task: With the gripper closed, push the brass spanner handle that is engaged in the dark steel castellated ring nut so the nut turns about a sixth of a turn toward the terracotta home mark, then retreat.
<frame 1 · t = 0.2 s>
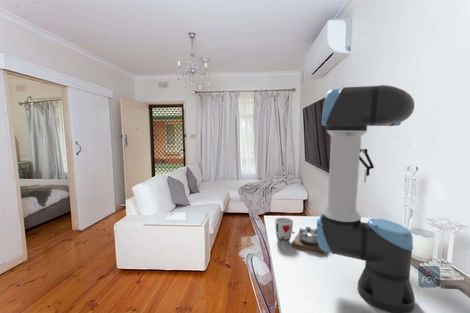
hand: (349, 180, 122), 27 cm above the table, fingers open, 13 cm apart
home mark: (290, 231, 124), on the table
cup: (283, 241, 113), on the table
base board: (310, 244, 110), on the table
ring nut: (317, 233, 112), point 4 cm above the table, hinge at 0.0°
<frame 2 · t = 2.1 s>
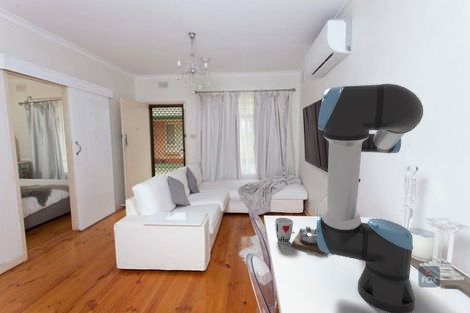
hand: (343, 212, 113), 14 cm above the table, fingers closed
nothing on the table moved.
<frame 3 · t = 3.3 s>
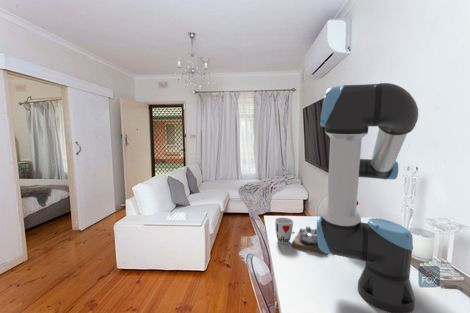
hand: (341, 234, 114), 3 cm above the table, fingers closed
nothing on the table moved.
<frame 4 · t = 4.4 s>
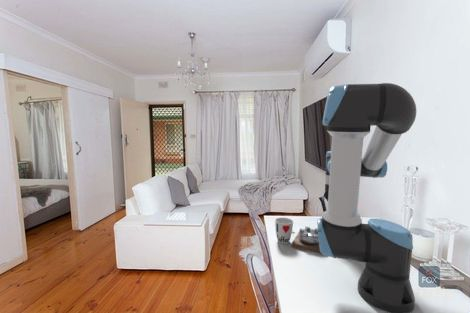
hand: (332, 231, 116), 4 cm above the table, fingers closed
ring nut: (317, 233, 112), point 4 cm above the table, hinge at 3.0°, touching gripper
everything else where it was.
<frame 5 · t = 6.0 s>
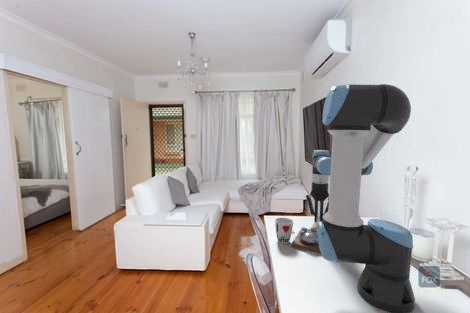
hand: (318, 229, 119), 4 cm above the table, fingers closed
ring nut: (312, 232, 113), point 4 cm above the table, hinge at 31.0°, touching gripper
everything else where it was.
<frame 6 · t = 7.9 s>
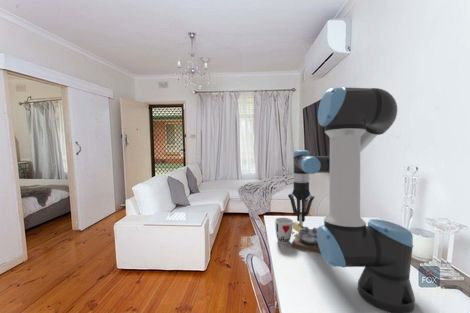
hand: (300, 227, 121), 3 cm above the table, fingers closed
ring nut: (305, 231, 114), point 4 cm above the table, hinge at 76.4°, touching gripper
everything else where it was.
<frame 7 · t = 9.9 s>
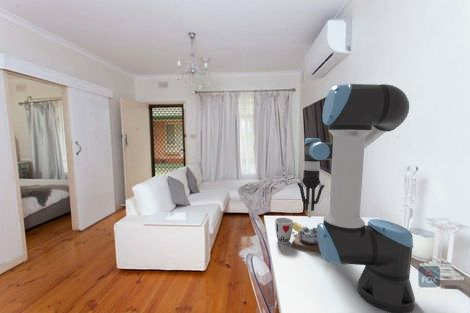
hand: (309, 216, 120), 9 cm above the table, fingers closed
ring nut: (305, 232, 114), point 4 cm above the table, hinge at 78.0°
everything else where it was.
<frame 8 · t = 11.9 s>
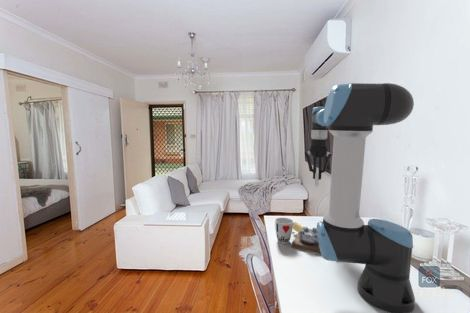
hand: (316, 185, 121), 24 cm above the table, fingers closed
nothing on the table moved.
at the end: ring nut at +78° (first picture: +0°); cup moved 0.2 cm from its start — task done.
